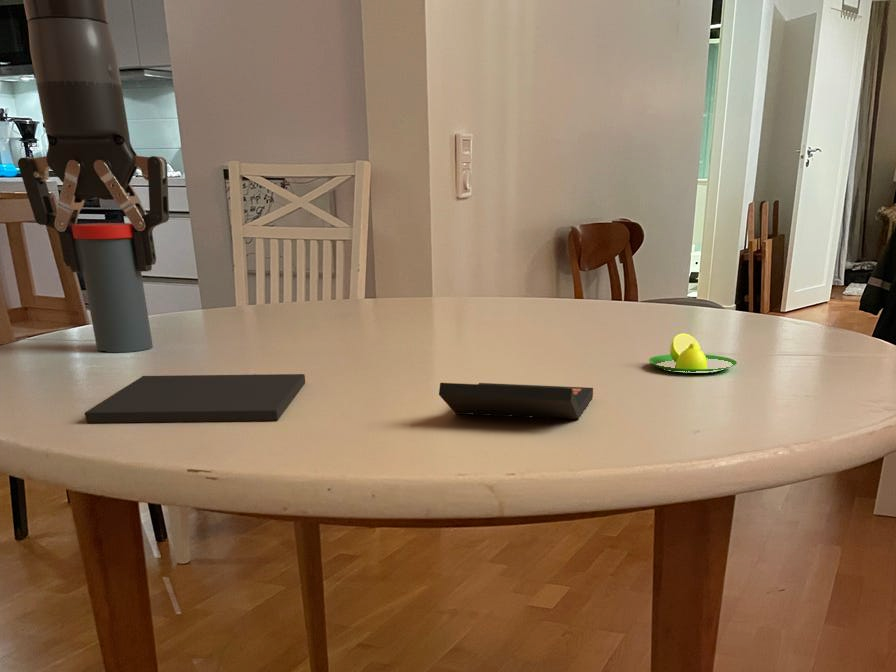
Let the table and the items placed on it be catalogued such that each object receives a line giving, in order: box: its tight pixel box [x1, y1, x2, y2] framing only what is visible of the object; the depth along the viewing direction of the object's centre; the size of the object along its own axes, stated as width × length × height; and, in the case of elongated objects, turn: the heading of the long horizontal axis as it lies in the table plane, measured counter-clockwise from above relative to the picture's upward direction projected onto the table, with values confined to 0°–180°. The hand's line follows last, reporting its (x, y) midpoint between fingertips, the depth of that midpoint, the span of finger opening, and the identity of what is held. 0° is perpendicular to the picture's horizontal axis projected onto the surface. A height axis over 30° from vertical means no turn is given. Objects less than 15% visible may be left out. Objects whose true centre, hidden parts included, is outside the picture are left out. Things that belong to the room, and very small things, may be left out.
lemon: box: [648, 333, 738, 372], centre depth 84 cm, size 8×8×3 cm
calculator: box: [438, 382, 594, 420], centre depth 69 cm, size 9×12×3 cm
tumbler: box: [71, 222, 154, 353], centre depth 95 cm, size 6×6×12 cm
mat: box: [84, 373, 306, 424], centre depth 73 cm, size 14×14×1 cm
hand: (112, 270), depth 94 cm, fingers closed on tumbler, 6 cm apart
